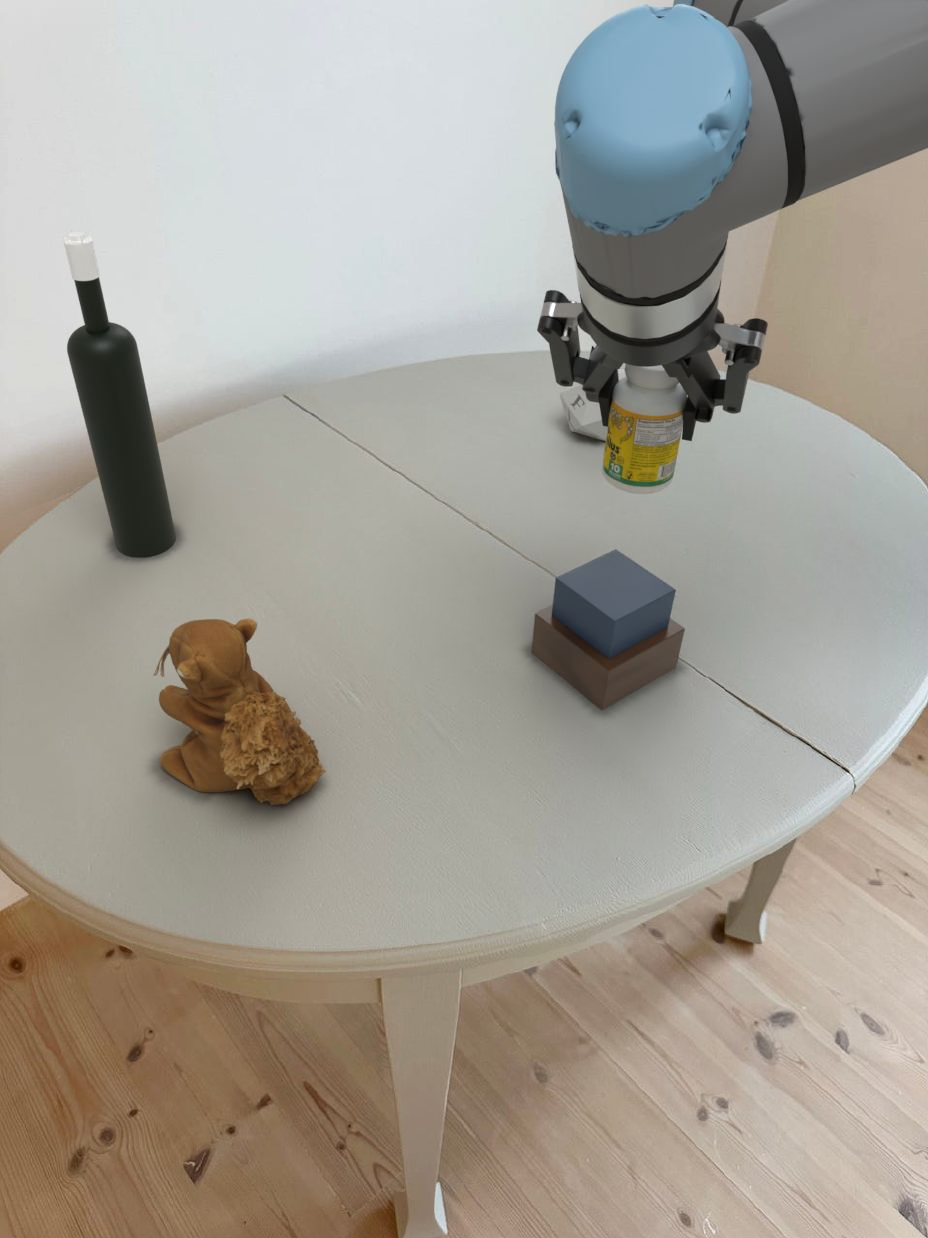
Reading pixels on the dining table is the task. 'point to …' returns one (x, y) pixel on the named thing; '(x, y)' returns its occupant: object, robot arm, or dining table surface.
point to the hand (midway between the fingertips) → (650, 416)
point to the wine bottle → (117, 415)
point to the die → (584, 411)
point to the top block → (612, 603)
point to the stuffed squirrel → (232, 718)
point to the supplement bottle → (644, 430)
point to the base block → (604, 659)
